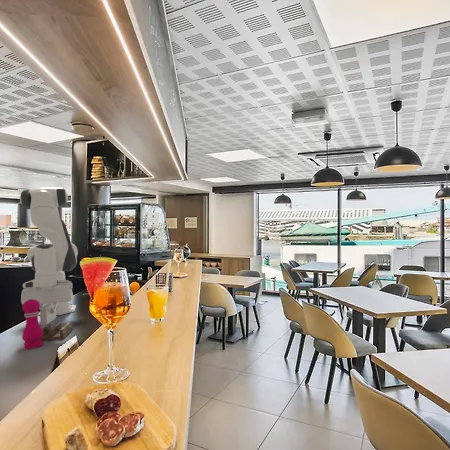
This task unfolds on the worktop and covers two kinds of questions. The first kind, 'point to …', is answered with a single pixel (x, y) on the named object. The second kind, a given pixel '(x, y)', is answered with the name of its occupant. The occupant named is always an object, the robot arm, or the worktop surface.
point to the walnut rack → (56, 331)
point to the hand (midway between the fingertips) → (48, 313)
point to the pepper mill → (32, 324)
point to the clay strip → (47, 314)
